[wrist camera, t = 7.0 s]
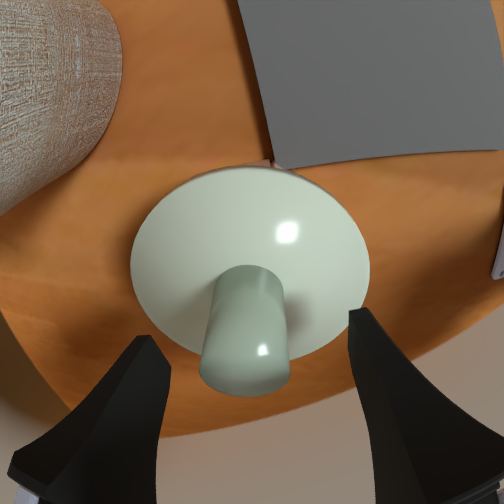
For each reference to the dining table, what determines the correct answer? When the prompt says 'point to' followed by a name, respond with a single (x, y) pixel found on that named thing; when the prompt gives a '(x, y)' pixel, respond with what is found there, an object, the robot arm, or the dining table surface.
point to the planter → (53, 89)
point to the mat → (376, 77)
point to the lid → (249, 272)
